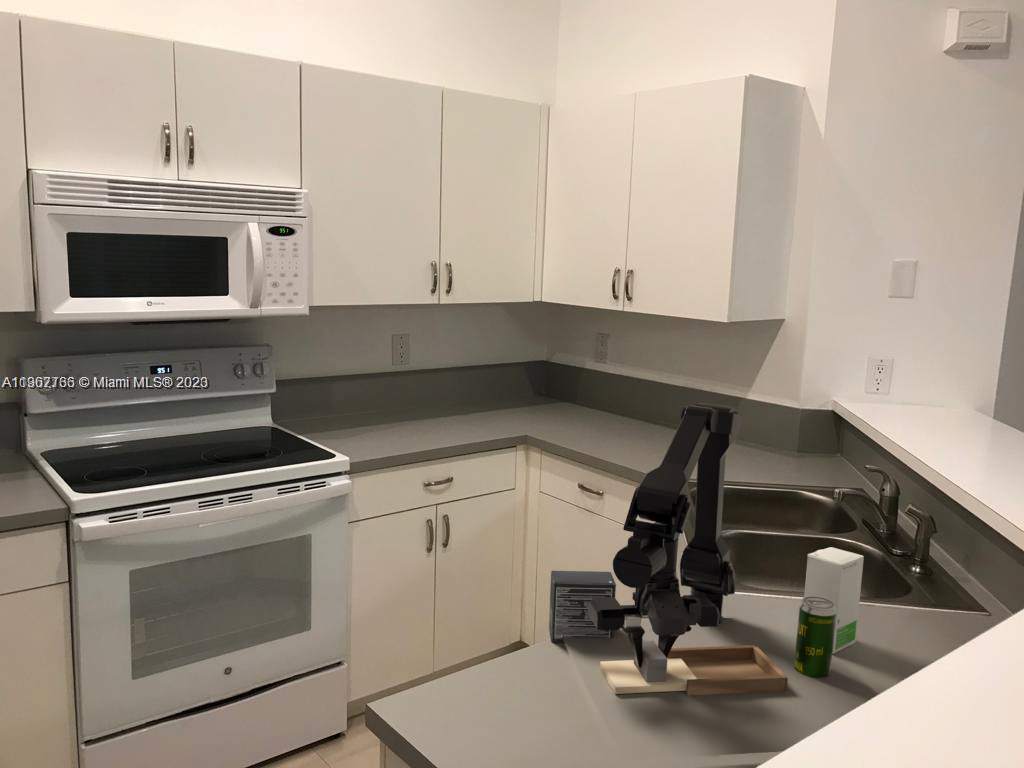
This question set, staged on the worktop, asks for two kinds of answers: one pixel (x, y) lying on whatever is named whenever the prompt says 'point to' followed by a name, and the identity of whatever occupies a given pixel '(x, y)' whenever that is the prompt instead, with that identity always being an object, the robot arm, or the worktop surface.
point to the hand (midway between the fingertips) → (649, 665)
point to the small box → (577, 603)
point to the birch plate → (637, 684)
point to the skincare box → (837, 589)
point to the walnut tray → (730, 670)
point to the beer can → (815, 637)
